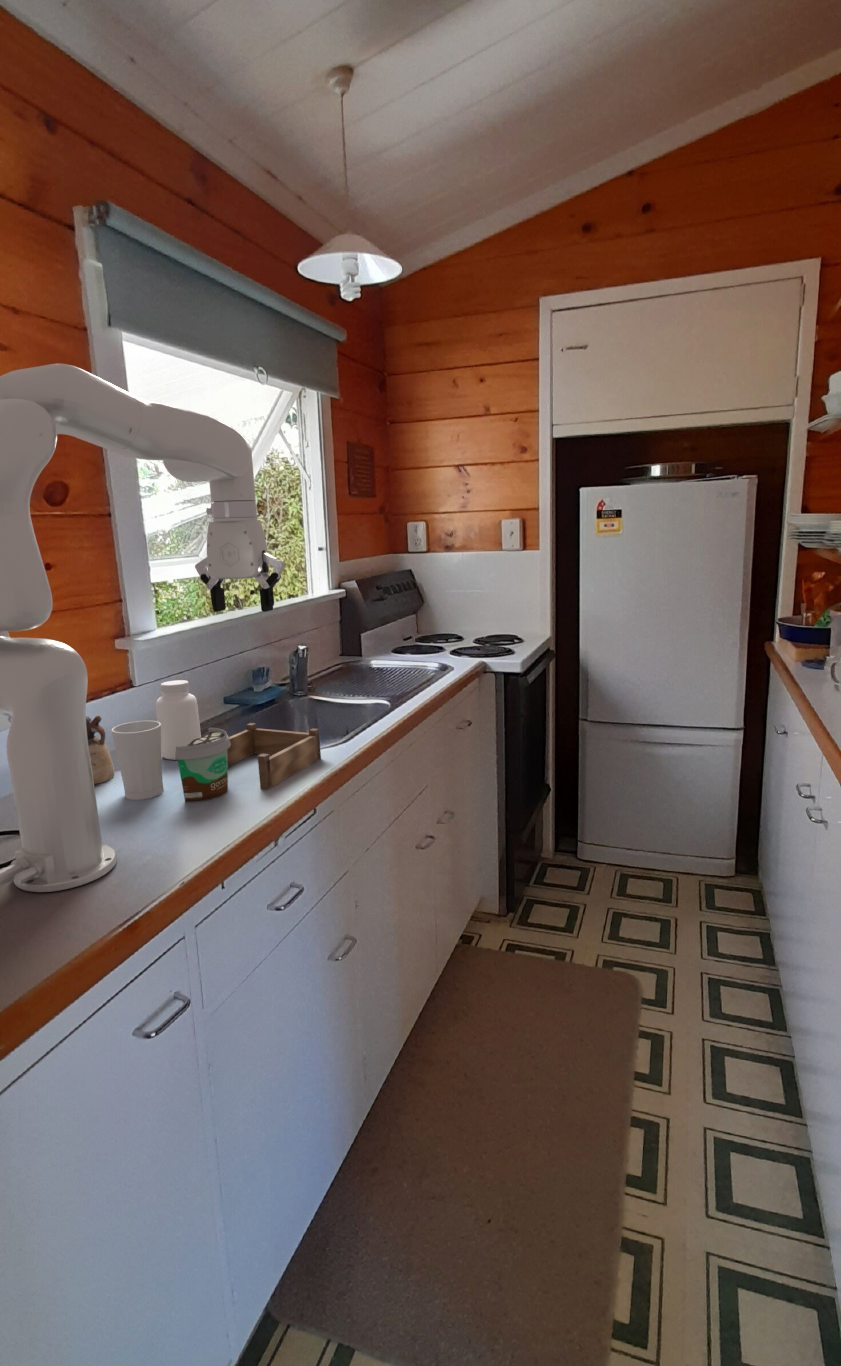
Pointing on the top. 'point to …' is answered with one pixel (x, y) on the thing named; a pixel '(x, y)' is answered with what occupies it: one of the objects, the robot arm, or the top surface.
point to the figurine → (98, 752)
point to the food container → (204, 766)
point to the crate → (275, 751)
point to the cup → (139, 758)
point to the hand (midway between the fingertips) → (243, 610)
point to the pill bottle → (177, 717)
